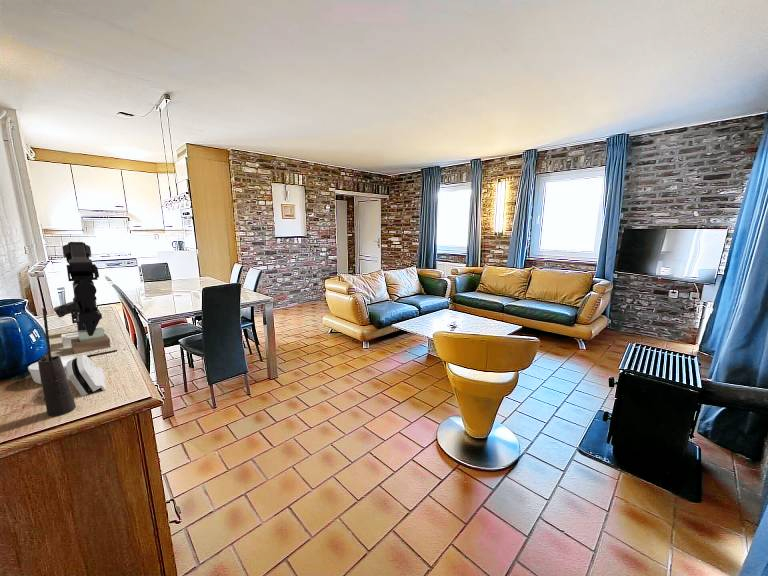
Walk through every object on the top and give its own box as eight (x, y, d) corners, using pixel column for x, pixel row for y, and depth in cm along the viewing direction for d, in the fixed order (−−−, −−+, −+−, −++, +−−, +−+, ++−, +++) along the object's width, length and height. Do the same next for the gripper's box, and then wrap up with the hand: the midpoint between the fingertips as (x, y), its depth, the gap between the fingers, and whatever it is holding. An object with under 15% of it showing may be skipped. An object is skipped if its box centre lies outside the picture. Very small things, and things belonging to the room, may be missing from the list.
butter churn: (33, 409, 80) (16, 304, 75) (84, 397, 86) (71, 300, 82) (29, 425, 73) (10, 312, 69) (84, 410, 80) (70, 306, 76)
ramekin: (81, 378, 97) (79, 363, 96) (28, 390, 89) (25, 373, 89) (81, 367, 105) (79, 353, 104) (32, 377, 97) (30, 361, 97)
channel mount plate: (66, 350, 119) (64, 338, 118) (110, 343, 129) (109, 331, 128) (70, 360, 110) (68, 347, 109) (117, 351, 120) (115, 339, 119)
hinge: (105, 390, 90) (86, 363, 86) (85, 401, 87) (64, 373, 84) (104, 372, 102) (87, 347, 98) (86, 380, 99) (67, 355, 96)
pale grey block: (80, 348, 118) (77, 330, 117) (104, 344, 123) (102, 327, 122) (81, 350, 116) (78, 333, 114) (105, 346, 121) (103, 329, 120)
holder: (62, 346, 123) (61, 334, 122) (93, 341, 130) (91, 330, 129) (64, 350, 119) (62, 338, 118) (95, 345, 125) (94, 333, 125)
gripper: (51, 293, 115) (57, 333, 118) (55, 301, 104) (61, 345, 106) (92, 290, 124) (96, 327, 126) (99, 297, 112) (104, 337, 115)
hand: (89, 334), depth 118 cm, fingers open, 5 cm apart
